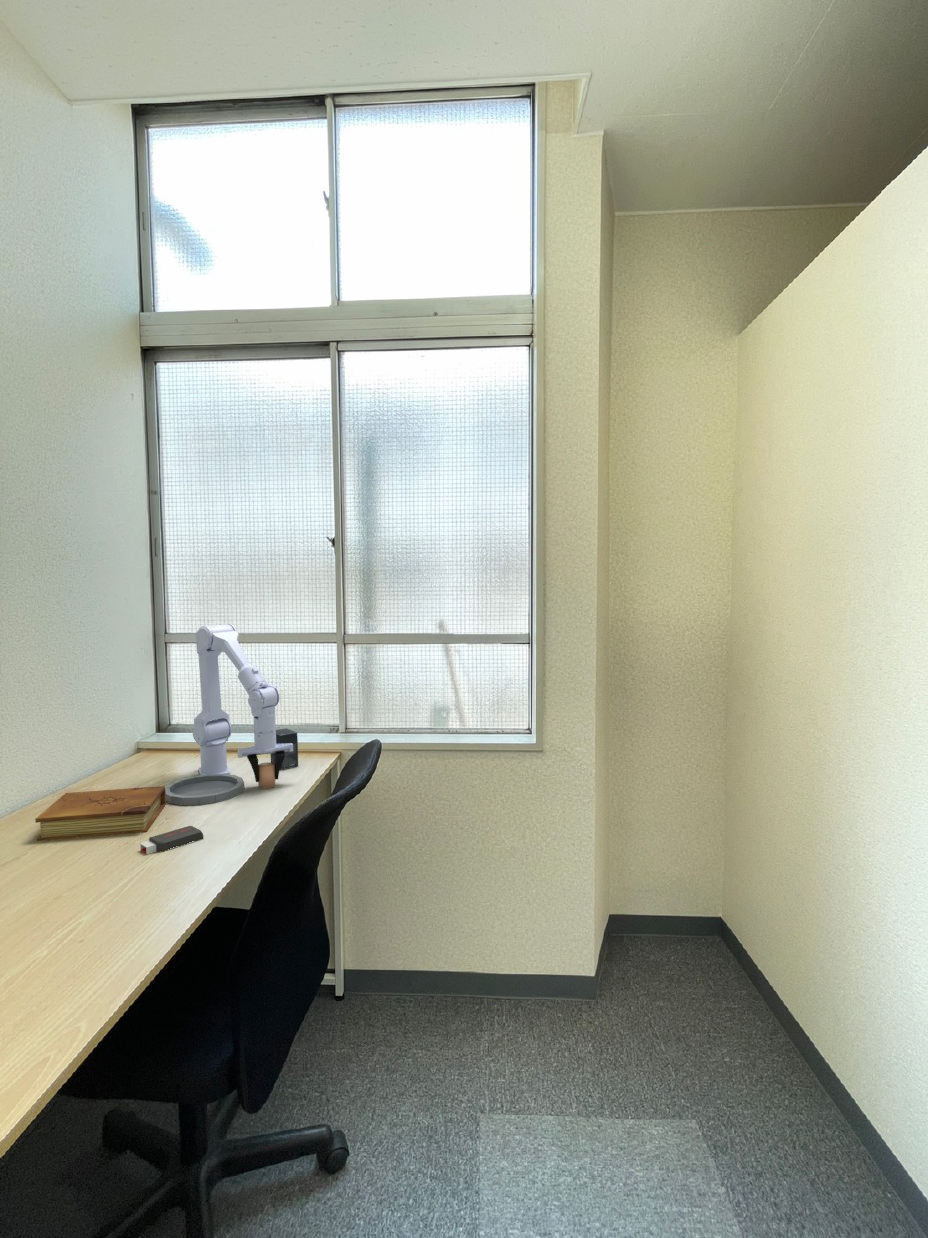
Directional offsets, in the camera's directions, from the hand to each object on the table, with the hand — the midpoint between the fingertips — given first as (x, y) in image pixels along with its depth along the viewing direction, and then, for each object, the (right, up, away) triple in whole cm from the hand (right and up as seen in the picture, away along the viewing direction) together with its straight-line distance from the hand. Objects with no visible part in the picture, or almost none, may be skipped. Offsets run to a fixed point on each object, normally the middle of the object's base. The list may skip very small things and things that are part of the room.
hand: (266, 779), depth 190 cm
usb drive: (-10, -6, -39) cm, 41 cm away
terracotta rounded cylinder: (0, -2, 0) cm, 2 cm away
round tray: (-15, -2, -5) cm, 16 cm away
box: (0, -1, +20) cm, 20 cm away
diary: (-31, -5, -25) cm, 40 cm away
